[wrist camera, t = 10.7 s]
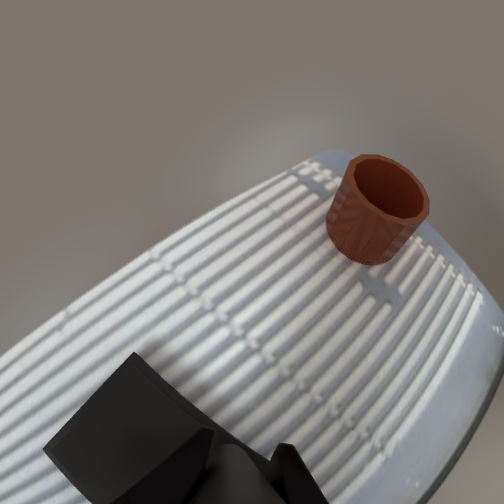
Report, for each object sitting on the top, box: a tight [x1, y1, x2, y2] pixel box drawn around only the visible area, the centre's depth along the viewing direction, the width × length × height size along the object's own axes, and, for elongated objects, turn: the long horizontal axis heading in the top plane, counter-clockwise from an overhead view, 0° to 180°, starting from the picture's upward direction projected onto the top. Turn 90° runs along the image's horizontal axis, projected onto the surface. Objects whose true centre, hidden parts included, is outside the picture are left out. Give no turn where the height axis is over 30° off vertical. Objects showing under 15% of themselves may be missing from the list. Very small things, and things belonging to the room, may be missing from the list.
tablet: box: [43, 352, 270, 504], centre depth 12 cm, size 9×13×1 cm
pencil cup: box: [326, 154, 429, 265], centre depth 20 cm, size 6×6×5 cm
